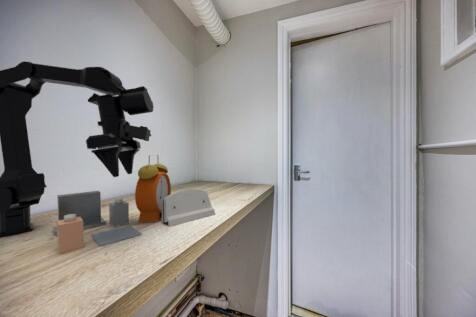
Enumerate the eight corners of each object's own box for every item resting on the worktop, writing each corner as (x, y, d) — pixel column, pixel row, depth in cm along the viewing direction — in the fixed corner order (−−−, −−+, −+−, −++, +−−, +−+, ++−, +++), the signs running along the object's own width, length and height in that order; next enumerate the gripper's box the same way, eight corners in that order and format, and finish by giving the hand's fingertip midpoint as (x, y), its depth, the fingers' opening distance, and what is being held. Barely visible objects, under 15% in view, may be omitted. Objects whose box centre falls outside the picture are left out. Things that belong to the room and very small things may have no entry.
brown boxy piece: (57, 248, 44) (56, 215, 43) (80, 242, 46) (79, 211, 46) (59, 254, 41) (58, 219, 41) (83, 247, 44) (83, 215, 43)
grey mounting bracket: (168, 227, 55) (162, 191, 58) (161, 228, 59) (156, 195, 61) (216, 214, 67) (210, 185, 69) (208, 216, 70) (203, 188, 72)
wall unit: (53, 230, 53) (52, 195, 53) (101, 220, 61) (101, 189, 61) (54, 236, 50) (53, 198, 50) (106, 224, 58) (105, 191, 57)
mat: (91, 235, 50) (91, 234, 50) (129, 225, 57) (129, 225, 57) (99, 246, 44) (99, 245, 44) (141, 234, 50) (141, 233, 50)
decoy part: (109, 223, 59) (109, 199, 59) (124, 220, 62) (124, 197, 61) (113, 226, 56) (112, 201, 56) (128, 223, 59) (128, 199, 59)
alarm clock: (155, 223, 58) (154, 155, 58) (134, 223, 58) (133, 155, 58) (171, 210, 71) (171, 155, 71) (154, 210, 72) (154, 155, 71)
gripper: (132, 105, 46) (144, 172, 46) (153, 120, 64) (161, 168, 64) (78, 111, 44) (92, 181, 44) (115, 125, 62) (125, 174, 63)
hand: (123, 175), depth 54 cm, fingers open, 9 cm apart
